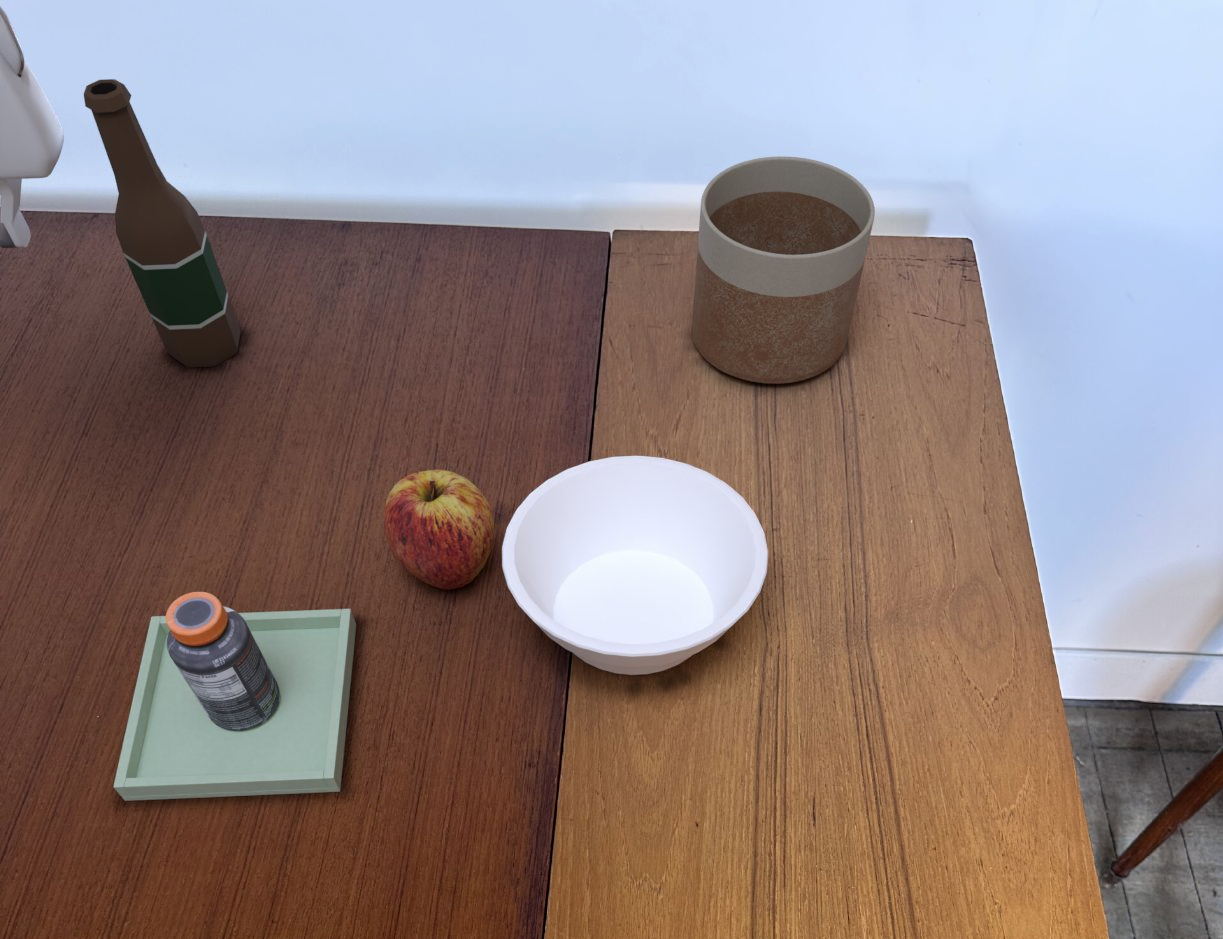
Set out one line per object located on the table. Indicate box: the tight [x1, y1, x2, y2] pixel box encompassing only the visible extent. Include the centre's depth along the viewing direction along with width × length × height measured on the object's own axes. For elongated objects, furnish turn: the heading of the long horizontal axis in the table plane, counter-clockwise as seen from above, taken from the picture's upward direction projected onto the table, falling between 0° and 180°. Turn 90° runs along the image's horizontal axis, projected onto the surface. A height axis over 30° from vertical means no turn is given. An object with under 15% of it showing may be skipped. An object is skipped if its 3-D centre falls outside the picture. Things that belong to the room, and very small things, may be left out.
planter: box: [691, 155, 876, 385], centre depth 98 cm, size 16×16×14 cm
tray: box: [113, 608, 357, 802], centre depth 81 cm, size 17×17×2 cm
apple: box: [383, 469, 496, 591], centre depth 85 cm, size 9×9×10 cm
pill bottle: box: [165, 591, 280, 731], centre depth 77 cm, size 6×6×11 cm
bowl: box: [501, 455, 769, 676], centre depth 83 cm, size 21×21×8 cm
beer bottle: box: [83, 78, 242, 369], centre depth 94 cm, size 8×8×24 cm
